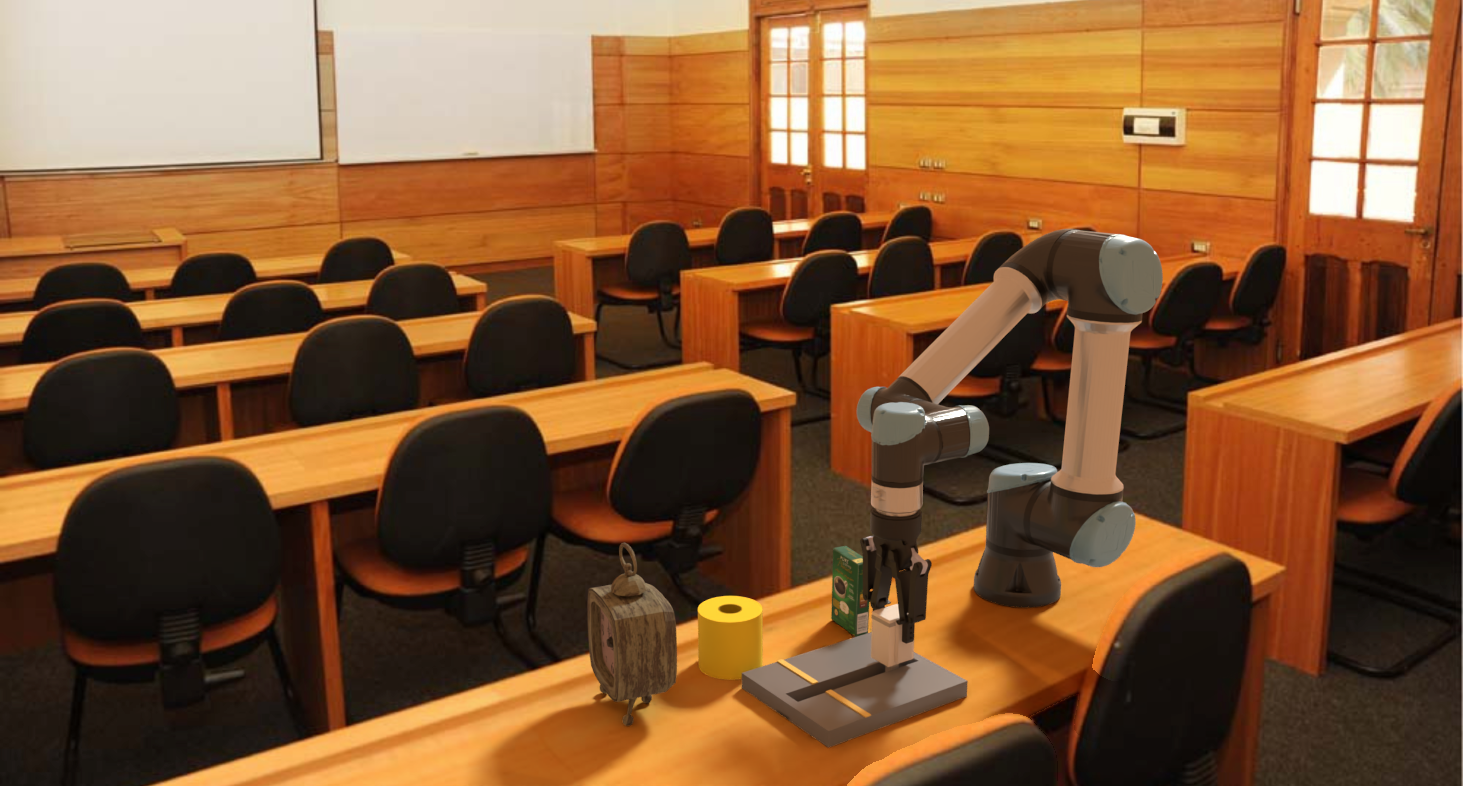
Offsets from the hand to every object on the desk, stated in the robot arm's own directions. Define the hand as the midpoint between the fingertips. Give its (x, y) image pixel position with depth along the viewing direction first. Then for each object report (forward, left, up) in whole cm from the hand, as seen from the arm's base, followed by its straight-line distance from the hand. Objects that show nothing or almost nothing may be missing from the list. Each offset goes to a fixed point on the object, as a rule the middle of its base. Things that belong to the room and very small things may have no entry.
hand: (892, 653), depth 192 cm
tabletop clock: (+37, -15, -4) cm, 40 cm away
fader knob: (0, 0, -4) cm, 4 cm away
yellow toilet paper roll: (+18, -18, -4) cm, 25 cm away
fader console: (+8, 0, -4) cm, 9 cm away
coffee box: (-6, -18, -4) cm, 20 cm away
